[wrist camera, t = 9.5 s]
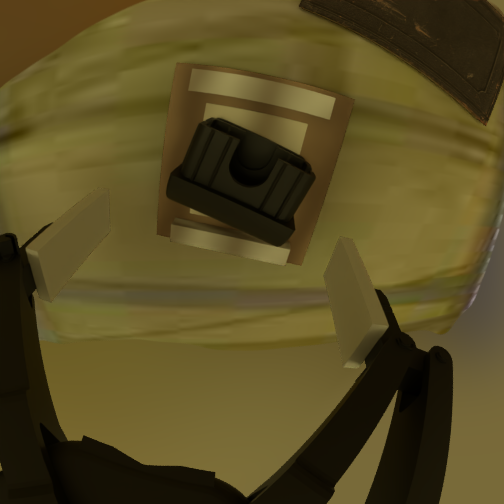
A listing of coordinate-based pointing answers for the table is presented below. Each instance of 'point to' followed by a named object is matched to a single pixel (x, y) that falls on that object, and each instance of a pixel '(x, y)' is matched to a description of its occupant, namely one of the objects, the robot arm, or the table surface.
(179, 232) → the display riser
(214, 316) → the table surface
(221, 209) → the black notched block
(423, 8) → the hardcover book
